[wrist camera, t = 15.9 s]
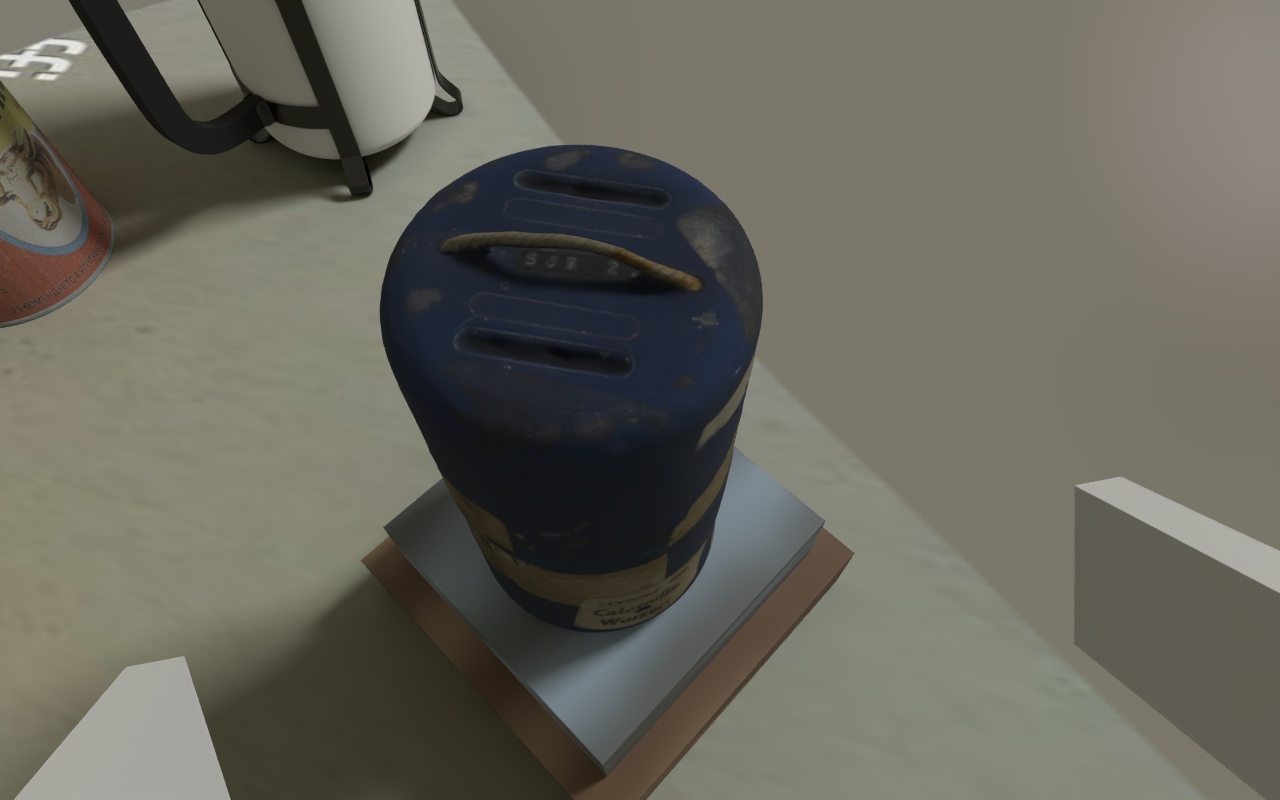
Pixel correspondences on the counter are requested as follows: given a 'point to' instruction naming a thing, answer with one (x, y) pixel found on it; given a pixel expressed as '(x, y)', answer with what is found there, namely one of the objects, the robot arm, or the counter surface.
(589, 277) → the canister
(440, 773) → the counter surface
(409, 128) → the coffee press
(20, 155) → the canned food
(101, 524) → the counter surface
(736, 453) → the metal-topped wooden base
